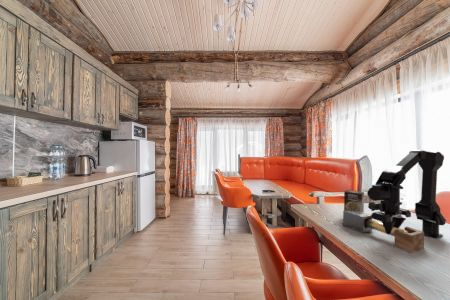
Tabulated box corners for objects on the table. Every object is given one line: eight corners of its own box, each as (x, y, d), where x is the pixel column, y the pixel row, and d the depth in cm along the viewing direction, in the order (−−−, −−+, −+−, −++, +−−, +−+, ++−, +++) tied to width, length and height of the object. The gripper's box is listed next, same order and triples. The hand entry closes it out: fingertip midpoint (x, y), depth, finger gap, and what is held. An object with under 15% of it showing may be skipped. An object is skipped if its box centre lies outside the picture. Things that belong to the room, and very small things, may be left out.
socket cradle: (406, 242, 91) (406, 226, 91) (424, 248, 86) (424, 231, 86) (394, 246, 88) (394, 230, 88) (411, 252, 82) (411, 235, 82)
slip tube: (363, 223, 107) (363, 215, 107) (409, 239, 88) (410, 230, 88) (357, 225, 105) (357, 216, 105) (404, 241, 87) (404, 231, 87)
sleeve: (351, 223, 114) (351, 209, 114) (372, 230, 104) (372, 215, 104) (343, 225, 111) (343, 210, 111) (363, 233, 101) (363, 217, 101)
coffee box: (343, 218, 121) (343, 191, 121) (346, 215, 126) (346, 189, 126) (361, 222, 115) (362, 193, 115) (364, 219, 120) (364, 191, 120)
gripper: (384, 193, 104) (384, 224, 104) (359, 197, 97) (359, 230, 97) (411, 198, 94) (411, 232, 94) (385, 203, 86) (385, 240, 87)
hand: (391, 233), depth 93 cm, fingers closed on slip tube, 4 cm apart
